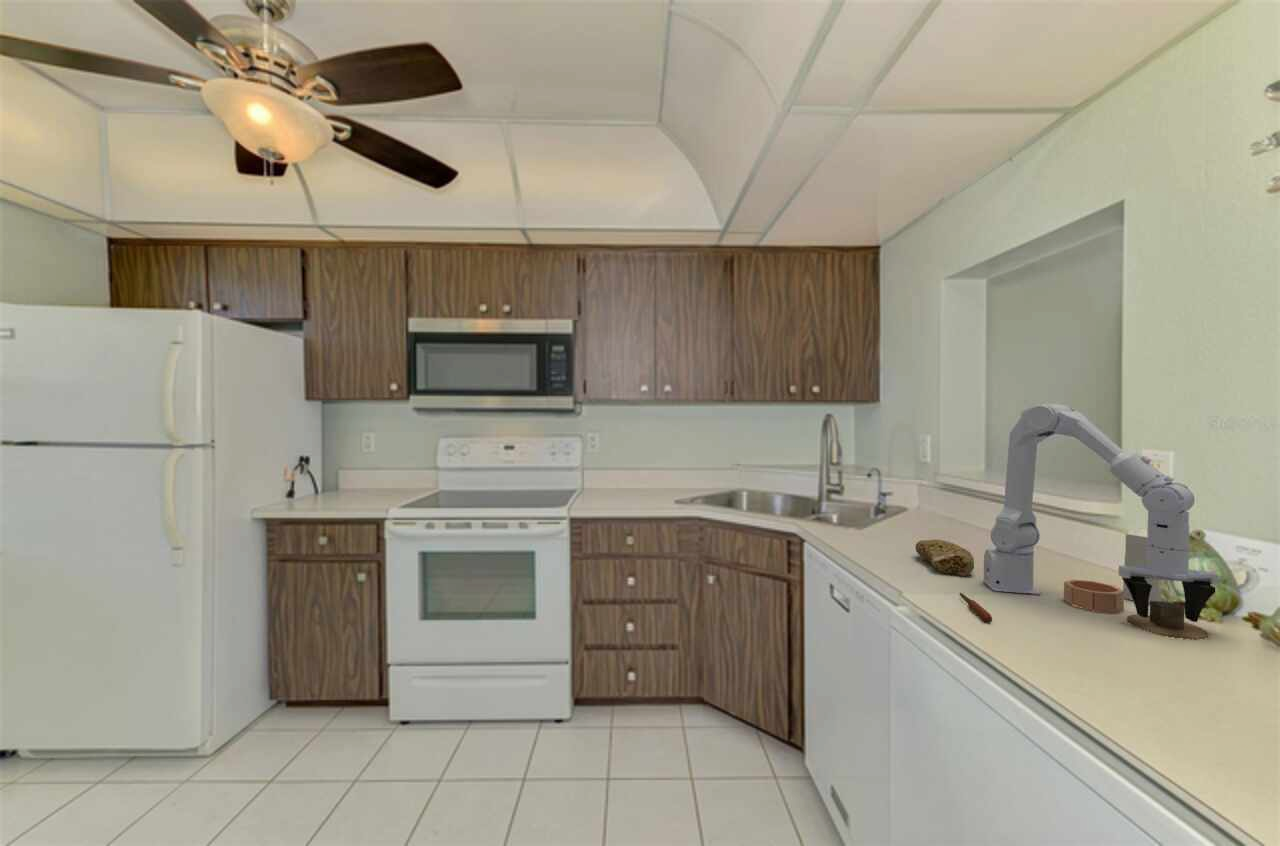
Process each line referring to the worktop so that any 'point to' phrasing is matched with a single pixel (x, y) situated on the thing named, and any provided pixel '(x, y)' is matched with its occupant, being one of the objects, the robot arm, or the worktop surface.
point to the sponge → (946, 556)
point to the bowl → (1094, 596)
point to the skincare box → (1140, 561)
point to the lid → (1167, 622)
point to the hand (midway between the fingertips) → (1166, 617)
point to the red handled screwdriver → (977, 609)
